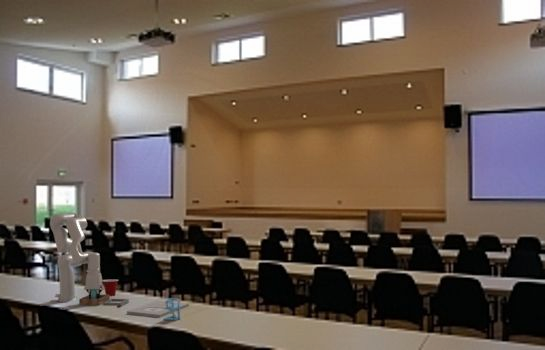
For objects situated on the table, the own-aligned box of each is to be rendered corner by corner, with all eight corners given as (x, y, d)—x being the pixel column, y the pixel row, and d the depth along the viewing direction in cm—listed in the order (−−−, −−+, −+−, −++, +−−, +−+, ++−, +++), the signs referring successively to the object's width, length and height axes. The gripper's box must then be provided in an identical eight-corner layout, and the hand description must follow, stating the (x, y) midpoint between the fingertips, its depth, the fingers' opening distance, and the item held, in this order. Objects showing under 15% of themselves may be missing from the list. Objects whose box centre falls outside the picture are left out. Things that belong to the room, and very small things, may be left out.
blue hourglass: (174, 321, 299) (173, 300, 299) (163, 319, 303) (162, 299, 303) (183, 318, 305) (182, 297, 305) (172, 316, 310) (172, 296, 310)
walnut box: (79, 306, 341) (79, 299, 341) (90, 301, 355) (90, 294, 355) (99, 307, 339) (99, 299, 339) (109, 302, 353) (109, 294, 353)
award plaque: (188, 306, 336) (188, 303, 336) (160, 318, 309) (160, 314, 309) (157, 303, 346) (157, 300, 346) (127, 314, 319) (126, 311, 319)
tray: (103, 306, 340) (103, 302, 340) (111, 302, 352) (111, 298, 352) (120, 306, 338) (120, 303, 338) (128, 302, 350) (128, 298, 350)
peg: (89, 303, 345) (89, 289, 346) (93, 301, 350) (92, 287, 350) (96, 303, 345) (95, 289, 345) (99, 301, 349) (99, 288, 349)
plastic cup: (121, 294, 375) (120, 278, 375) (115, 298, 364) (114, 281, 364) (106, 295, 376) (106, 278, 376) (100, 298, 365) (99, 281, 365)
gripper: (79, 272, 345) (79, 300, 345) (103, 272, 342) (103, 300, 342) (85, 270, 353) (85, 297, 352) (108, 270, 350) (109, 298, 350)
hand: (94, 299), depth 347 cm, fingers closed on peg, 4 cm apart
